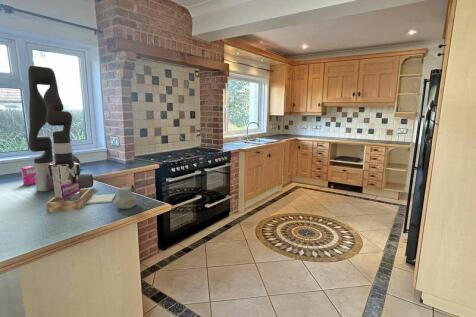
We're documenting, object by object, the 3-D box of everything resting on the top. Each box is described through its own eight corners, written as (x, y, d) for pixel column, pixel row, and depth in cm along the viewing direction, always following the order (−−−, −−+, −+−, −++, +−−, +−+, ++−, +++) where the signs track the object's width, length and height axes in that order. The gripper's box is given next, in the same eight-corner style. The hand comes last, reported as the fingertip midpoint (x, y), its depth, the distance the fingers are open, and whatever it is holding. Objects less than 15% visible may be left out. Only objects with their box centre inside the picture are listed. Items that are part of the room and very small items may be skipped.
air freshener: (132, 202, 141) (131, 184, 139) (140, 206, 136) (139, 187, 134) (112, 208, 133) (110, 189, 131) (120, 212, 128) (118, 192, 126)
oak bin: (47, 212, 127) (46, 203, 126) (64, 197, 148) (63, 190, 147) (79, 209, 131) (78, 201, 130) (91, 195, 151) (91, 188, 151)
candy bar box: (72, 190, 141) (69, 161, 138) (80, 191, 140) (77, 161, 137) (54, 197, 131) (50, 165, 127) (62, 198, 130) (59, 166, 127)
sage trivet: (86, 204, 138) (86, 202, 138) (92, 196, 150) (92, 195, 150) (111, 202, 141) (111, 200, 141) (115, 195, 153) (115, 193, 153)
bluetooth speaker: (47, 194, 154) (45, 177, 152) (53, 189, 162) (51, 173, 160) (90, 191, 160) (89, 175, 158) (94, 186, 169) (92, 171, 167)
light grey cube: (70, 201, 143) (70, 194, 142) (72, 198, 146) (71, 192, 146) (79, 200, 144) (78, 193, 144) (80, 197, 148) (79, 191, 147)
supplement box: (22, 184, 173) (20, 167, 171) (33, 182, 178) (30, 165, 176) (27, 185, 170) (25, 168, 168) (37, 183, 176) (35, 166, 173)
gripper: (43, 153, 126) (47, 186, 129) (76, 152, 129) (80, 185, 133) (49, 150, 133) (53, 182, 136) (81, 150, 137) (84, 181, 140)
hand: (66, 183), depth 134 cm, fingers closed on candy bar box, 6 cm apart
